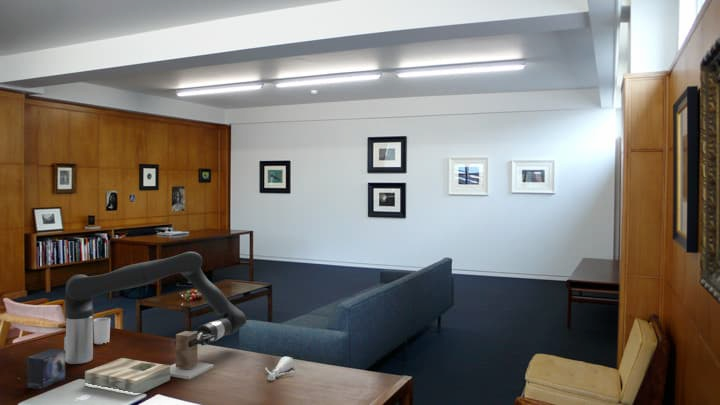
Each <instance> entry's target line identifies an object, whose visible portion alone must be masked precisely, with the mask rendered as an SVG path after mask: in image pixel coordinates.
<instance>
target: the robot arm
mask: <svg viewBox="0 0 720 405" xmlns="http://www.w3.org/2000/svg"><path fill="white" fill-rule="evenodd" d="M202 266H203V257H202V255H201V254H199V253H198V252H196V251H186V252H182V253H181V254H177V255H174V256H170V257H166V258H161V259H154V260H150V261H149V260H148V261H145V262H144V261H143V262H138V263H133V264H130V265H126V266H122V267H120V268H118V269H115V270H113V271H110V272H108V273H104V274H97V275H91V276H88V275H86V274H81V273H79V274H74V275H73V276H71V277H70V278H69V279H68V280H67V281H66V285H65V336H64V338H63V350H66V355H65V364H69V365H79V364H80V365H81V364H85V363H89V362H91V361H93V359H94V354H93V353H94V321H93V320H94V304H93V302H94V301H93V298H94V297H96V296H100V295H102V294H106V293H111V292H116V291H123V290H129V289H132V288H139V287H143V286H147V285H149V284H152V283H155V282H157V281H159V280H162V279H163V278H166V277H168V276H172V275H177V274H181V275H182V276H183V277H185V278H186V279H187V280H188V282H190V283H191V285H193V286H194V287H195V288H196V290H198V292H199V293H200V295H202V297H203V298H204V299H205V300H206V301H207V303H208V304H209V306H210V307H211V308H212V309H213V311H214V312H215V314H217V315H218V316H221V315H223V314H225V313H226V314H227V315H229V316H228V317H226V318H223V317H222V318H218V319H216V320H214V321H210V322H207V323H205V324H202V325H199V326H198V327H197V328H196V330H194V331H193V332H197V338H196V339H193V340H191V341H189V342H188V347H193V346H195V345H197V346H199V345H200V346H205V345H209V344H212V343H214V342H216V341H217V340H219V339H221V338H222V337H225V336H230V335H233V334H235V333H236V332H237V331H238V330H240V329H241V328H243V327H244V326H245V325H246V324H247V317H246V315H245V313H244V312H243V311H242V310H240V309H239V308H238V307H237V306H235V305H234V304H233V303H231V302H230V300H228V298H227V296H225V294H224V293H223V291H222V290H221V289H219V287H217V286H216V285H215V284H213V283H212V282H211V281H210V280H209V279H208V278H207V276H206V275H205V274H204V272H203V270H202V268H201V267H202ZM174 346H176V338H175V339H174Z"/></svg>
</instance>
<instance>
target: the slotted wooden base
mask: <svg viewBox="0 0 720 405" xmlns="http://www.w3.org/2000/svg"><path fill="white" fill-rule="evenodd" d="M170 366H171V365H168V364H164V363H163V364H161V363H156V362H148V361H144V360H143V361H142V360H137V359H131V358H125V357H120V358H118V359H114V360H112V361H110V362H107V363H105V364H102V365H99V366H96V367H93V368H92V369H88V370H85V371H84V384H85V383H88V384H92V385H97V386H101V387H108V388H113V389H119V390H123V391H128V392H133V393H142V394H143V393H145V392H148V391H149V390H151V389H154V388H156V387H158V386H160V385H162V384H165V383H167V382H168V381H170V380H171V376H170Z"/></svg>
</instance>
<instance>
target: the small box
mask: <svg viewBox="0 0 720 405" xmlns="http://www.w3.org/2000/svg"><path fill="white" fill-rule="evenodd" d="M65 355H66V350H64V349H56V348H49V349H46V350H43V351H40V352H38V353H35V354H32V355H30V356H27V365H26V366H27V368H26V369H27V370H26V373H27V374H26V377H27V378H26V388H27V389H36V390H44V389H46V388H48V387H50V386H52V385H55V384H57V383H60V382H62V381H64V380H66V361H65Z"/></svg>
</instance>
